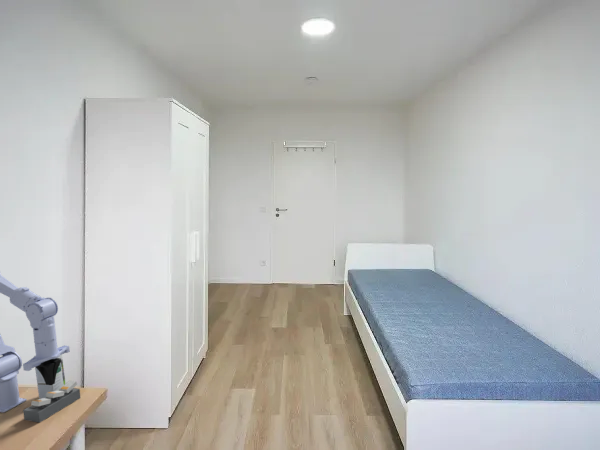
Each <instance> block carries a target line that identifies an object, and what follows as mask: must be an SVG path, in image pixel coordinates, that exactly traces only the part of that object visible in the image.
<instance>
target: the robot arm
mask: <svg viewBox="0 0 600 450" xmlns="http://www.w3.org/2000/svg"><path fill="white" fill-rule="evenodd" d="M0 294H3V295H4V296H6V297H7V298H9V302H10V304H12V305H13V306H14V307H16V308H17V309H19V310H21V311H23V312H24V313H25V316H26V318H27V320H28V321H29V324H30V325H29V326H30V327H31V328H32V334H33V343H34V350H35V355H36V356H35V355H34V356H35V357H34V356H33V357H32V358H31V359H29V360H28V361H25V362H24V363H23V360H22V357H21V356H20V355H19V353H18V352H16V349H15V347H14V346H11V345H8V344H6V343H5V342H4V339H3V337H2V335H1V333H0V413H6V412H8V411H9V410H11V409H13V408H15V407H17V406H19V405H20V404H23V403H25V402H26V401H28V399H27V398H22V397H20V391H19V383H18V374H19V371H20V369H21V368H22V367H23V371H26V372H29V371H31V370H32V369H33V368H35V367H36V368H37V369H38V370H39V372H40V373H41V375H42V376H43V378H44V381H45V383H46V385H53V384H55V379H56V374H57V370H58V367H59V365H60V363H61V358H58V357H60V355H62V356H63V354H68V353H70V346H69V345H62V346H59V347H58V340H57V332H56V323H55V316H56V315H57V314H58V311H59V307H58V303H57V301H55V300H54V299H53V298H52V297H41V296H40V295H38V294H36V293H35V292H33V291H31V290H30V288H29V287H27V286H22V287H18V286H17V285H15V284H14V283H12V282H11V281H10V280H9V279H7V278H6V277H4V276H3V275H2V273H1V271H0Z"/></svg>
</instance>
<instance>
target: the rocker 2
mask: <svg viewBox="0 0 600 450" xmlns="http://www.w3.org/2000/svg"><path fill="white" fill-rule="evenodd" d="M60 396H64V391H59V390H57V391H53V392H48V393H46V397H49V398H56V397H60Z"/></svg>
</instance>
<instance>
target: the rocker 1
mask: <svg viewBox="0 0 600 450" xmlns="http://www.w3.org/2000/svg"><path fill="white" fill-rule="evenodd" d="M50 401H51V399H47V398H42V399H40V398H39V399H34V400H31V403H30V404H31V405H30V406H32V405H33V406H42V405H46V404H49V403H50Z"/></svg>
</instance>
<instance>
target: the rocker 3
mask: <svg viewBox="0 0 600 450" xmlns="http://www.w3.org/2000/svg"><path fill="white" fill-rule="evenodd" d="M76 386H78V383H77V381H76V380H68V381H67V382H65V385H64V386H63V387H61V388H60V391H64V393H69V392H70V391H71V390H72V389H73V388H75V387H76Z"/></svg>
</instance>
